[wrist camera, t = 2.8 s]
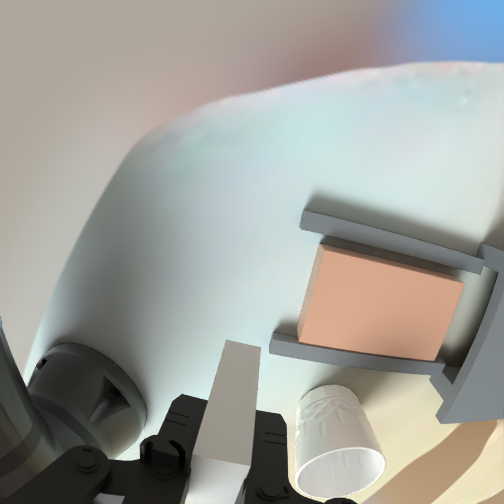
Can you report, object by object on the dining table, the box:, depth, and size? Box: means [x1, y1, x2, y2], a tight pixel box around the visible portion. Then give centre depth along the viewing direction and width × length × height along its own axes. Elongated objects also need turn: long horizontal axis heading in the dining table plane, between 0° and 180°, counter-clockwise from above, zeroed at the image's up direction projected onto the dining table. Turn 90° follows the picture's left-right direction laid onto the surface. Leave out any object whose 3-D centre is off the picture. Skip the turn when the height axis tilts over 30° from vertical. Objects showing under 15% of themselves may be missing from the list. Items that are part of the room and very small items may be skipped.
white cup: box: [295, 384, 386, 498], centre depth 26 cm, size 8×8×10 cm
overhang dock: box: [269, 210, 504, 424], centre depth 25 cm, size 31×20×6 cm, turn 78°
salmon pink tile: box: [297, 243, 464, 361], centre depth 26 cm, size 14×8×3 cm, turn 78°
